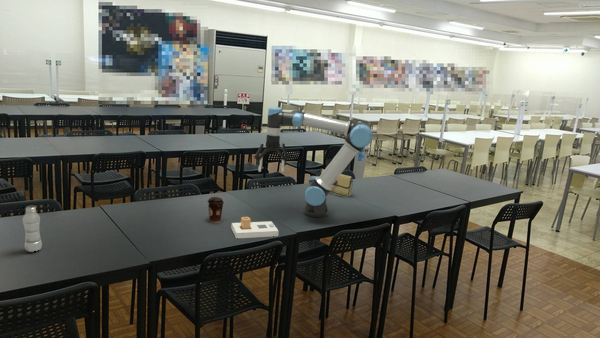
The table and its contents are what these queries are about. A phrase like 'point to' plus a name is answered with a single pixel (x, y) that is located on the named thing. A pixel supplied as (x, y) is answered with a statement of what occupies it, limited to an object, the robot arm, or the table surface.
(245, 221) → the tan rectangular block
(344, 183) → the clutch purse
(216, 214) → the coffee cup
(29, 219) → the plastic bottle
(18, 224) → the table surface
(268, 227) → the socket box
